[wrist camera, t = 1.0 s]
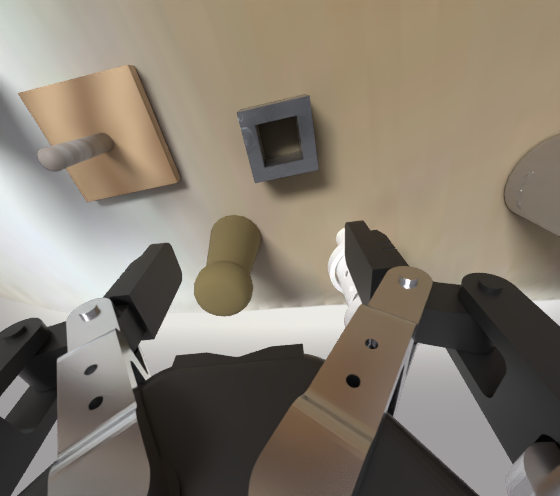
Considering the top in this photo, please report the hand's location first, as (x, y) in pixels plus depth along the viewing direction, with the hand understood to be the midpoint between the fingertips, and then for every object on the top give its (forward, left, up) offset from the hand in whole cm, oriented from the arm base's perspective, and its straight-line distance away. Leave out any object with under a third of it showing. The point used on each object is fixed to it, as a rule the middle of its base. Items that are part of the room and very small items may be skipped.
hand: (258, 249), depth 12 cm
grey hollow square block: (-2, -2, -17) cm, 17 cm away
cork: (+6, +8, -18) cm, 20 cm away
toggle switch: (+14, -5, -17) cm, 23 cm away
